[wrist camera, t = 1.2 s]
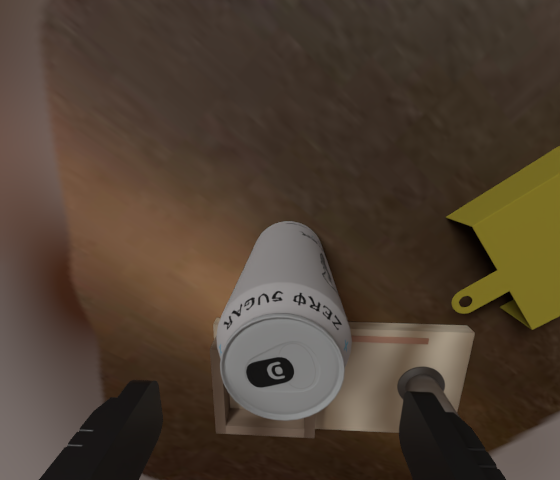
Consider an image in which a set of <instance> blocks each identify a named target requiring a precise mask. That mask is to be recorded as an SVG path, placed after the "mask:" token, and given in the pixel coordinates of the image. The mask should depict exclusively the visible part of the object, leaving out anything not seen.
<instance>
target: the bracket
mask: <svg viewBox="0 0 560 480" xmlns="http://www.w3.org/2000/svg"><path fill="white" fill-rule="evenodd" d="M446 218H448V219H451V220H454V221H457V222H459V223H462V224H465V225H468V226H471V227H472V228H473V230H474V231H475V233H476V235H477V236H478V238H479V240H480V242H481V243H482V245H483V247H484V248H485V250H486V252H487V254H488V255H489V257H490V259H491V260H492V262H493V264H494V266H495V267H496V269H497V271H495V272H493V273H491V274H490V275H488V276H486V277H484V278H482V279H481V280H479V281H477V282H475V283H474V284H472V285H470V286H468V287H466V288H465V289H463V290H461V291H459V292H458V293H457V294H455V296H454V297H453V299H452V307H453V309H454V310H455V311H457V312H458V313H463V314H465V313H470V312H472V311H474V310H476V309H477V308H479V307H481V306H483V305H485V304H487V303H488V302H490V301H492V300H494V299H496V298H498V297H499V296H501V295H503V294H505V293H507V292H509V291H510V293H511V295H512V296H513V298H514V300H512V301H510V302H508V303H506V304H504V305H502V306H500V308H501V309H503V310H504V311H506V312H507V313H509V314H510V315H511V316H513V317H514V318H516V319H517V320H519V321H520V322H522V323H523V324H524V325H526V326H527V327H529V328H530V329H532V330H533V329H535V328H537V327H539V326H541V325H543V324H545V323H547V322H549V321H551V320H553V319H555V318H557V317H559V316H560V146H559V147H557V148H555V149H554V150H552V151H551V152H549V153H547V154H546V155H544V156H543V157H541V158H539V159H538V160H536V161H535V162H533V163H531V164H530V165H528V166H527V167H525V168H523V169H522V170H520V171H519V172H517V173H515V174H514V175H512V176H511V177H509V178H508V179H506V180H504V181H503V182H501V183H500V184H498V185H496V186H495V187H493V188H492V189H490V190H488V191H487V192H485V193H484V194H482V195H480V196H479V197H477V198H476V199H474V200H472V201H471V202H469V203H468V204H466V205H464V206H463V207H461V208H460V209H458V210H456V211H455V212H453V213H452V214H450V215H448V216H447V217H446ZM464 296H470V297H471V298H472V303H471V305H470V306H468V307H461V306H460V305H459V300H460V299H461V298H462V297H464Z"/></svg>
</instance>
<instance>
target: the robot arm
mask: <svg viewBox="0 0 560 480" xmlns="http://www.w3.org/2000/svg"><path fill="white" fill-rule="evenodd" d="M162 422H163V415H162V408H161V400H160V393H159V386H158V383H157V381H148V380H132V381H130V382H129V383H128V384H127V386H126V387H125V388H124V390H123V391H122V392H121V394H120V395H119V396H118V398H112V397H111V398H110V399H108V400H107V401H106V402H105V403H103V404H102V405H101V406H100V407H98V408H97V409H96V410H95V411H94V412H93V413H92V414H91V415H90V416H89V418H88V419H87V420H86V421H85V423H84V424H83V425H82V426H81V428H80V430H79V432H77V433H76V434H75V435H74V436H73V438H72V439H71V440H70V442H69V443H68V446H67V447H65V448H64V449H63V450H62V452H61V453H60V454H59V455H58V457H57V458H56V459H55V460H54V462H53V463H52V464H51V465H50V467H49V468H48V469H47V470H46V472H45V473H44V474H43V475H42V477H41V478H40V479H39V480H139V478H140V476H141V474H142V472H143V470H144V468H145V466H146V464H147V461H148V459H149V457H150V455H151V453H152V451H153V449H154V447H155V445H156V443H157V441H158V438H159V436H160V433H161V429H162ZM399 439H400V444H401V448H402V452H403V454H404V457H405V460H406V462H407V465H408V467H409V470H410V473H411V475H412V478H413V480H506V479H505V477H504V476H503V474H502V473H501V471H500V470H499V469H497V467H496V464H495V462H494V461H493V460H492V458H491V456H490V455H489V453H488V452H486V451H485V447H484V446H483V445H482V443H481V442H480V440H479V439H478V437H477V436H476V434H475V433H474V431H473V430H472V428H471V427H469V426H468V425H467V424H466V423H465V422H464V421H463V420H462V419H461V418H460V417H458V416H457V415H456V414H455V413H454V412H445V410H444V409H443V407H442V405H441V404H440V402H439V401H438V399H437V397H436V396H435V395H434V394H433V393H432V392H417V391H406V392H405V394H404V399H403V406H402V412H401V418H400V424H399Z"/></svg>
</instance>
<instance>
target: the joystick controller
mask: <svg viewBox="0 0 560 480" xmlns="http://www.w3.org/2000/svg"><path fill="white" fill-rule="evenodd" d="M220 319H221V318H216V320H215V322H214V324H213V329H214V341H213V344H212V346H211V348H210V357H211V371H212V384H213V398H214V411H215V425H216V433H222V434H243V435H263V436H283V437H303V438H315V429H331V430H352V431H373V432H394V433H399V424H400V418H401V412H402V406H403V399H404V394H405V392H406V391H417V392H432V393H433V394H434V395H435V396H436V397H437V399H438V401H439V402H440V404H441V405H442V407H443V409H444V410H445V412H454V413H455V414H456V415H457V416H458V417H459V415H458V414H457V411H458V406H459V402H460V397H461V393H462V388H463V384H464V380H465V375H466V371H467V366H468V362H469V357H470V353H471V348H472V344H473V339H474V335H475V333H474V332H473V331H472V330H471V329H470V328H469V327H468V326H467V325H436V324H403V323H371V322H348V323H349V326H350V330H351V337H352V345H351V353H350V356H349V359H348V362H347V365H346V366H345V373H344V380H343V383H342V386H341V389H340V391H339V392H338V394H337V396H336V397H335V399H334V400H333V401H332V402H331V403H330V404H329V405H328V406H327V407H325V408H324V409H322V410H321V411H320V412H318V413H316V414H313V415H311V416H309V417H305V418H302V419H298V420H289V421H283V420H272V419H268V418H263V417H261V416H258V415H255V414H253V413H251V412H250V411H248V410H246V409H244V408H243V407H242V406H241V405H239V404H238V403H237V402H236V401H235V400H234V399H233V398H232V397H231V395H230V394H229V393H228V391H227V389H226V387H225V385H224V383H223V380H222V377H221V371H220V361H221V359H220V356H219V352H218V349H217V338H216V335H217V328H218V323H219V321H220Z"/></svg>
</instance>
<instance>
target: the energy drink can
mask: <svg viewBox="0 0 560 480" xmlns="http://www.w3.org/2000/svg"><path fill="white" fill-rule="evenodd" d="M216 338H217V349H218V352H219V356H220V359H221V361H220V371H221V377H222V380H223V383H224V385H225V387H226V389H227V391H228V393H229V394H230V395H231V397H232V398H233V399H234V400H235V401H236V402H237V403H238V404H239V405H241V406H242V407H243V408H244V409H246V410H248V411H250V412H251V413H253V414H255V415H258V416H261V417H263V418H268V419H272V420H283V421H289V420H298V419H302V418H305V417H309V416H311V415H313V414H316V413H318V412H320V411H321V410H322V409H324V408H325V407H327V406H328V405H329V404H330V403H331V402H332V401H333V400H334V399H335V397H336V396H337V394H338V392H339V391H340V389H341V386H342V383H343V380H344V373H345V366H346V365H347V362H348V359H349V356H350V353H351V345H352V337H351V330H350V326H349V323H348V321H347V318H346V315H345V312H344V309H343V306H342V303H341V300H340V297H339V294H338V291H337V288H336V286H335V283H334V280H333V277H332V274H331V271H330V268H329V265H328V262H327V259H326V256H325V253H324V251H323V248H322V245H321V242H320V240H319V238H318V237H317V235H316V234H315V233H314V232H313V231H312V230H311V229H310V228H308V227H307V226H305V225H303V224H301V223H297V222H293V221H284V222H279V223H276V224H274V225H271V226H270V227H268V228H267V229H266V230H265V231H263V232H262V233H261V235H260V236H259V238H258V240H257V242H256V244H255V246H254V248H253V250H252V252H251V254H250V256H249V259H248V261H247V263H246V265H245V267H244V269H243V271H242V273H241V276H240V278H239V280H238V282H237V284H236V286H235V288H234V290H233V292H232V295H231V297H230V299H229V301H228V303H227V305H226V307H225V309H224V312H223V314H222V316H221V319H220V321H219V323H218V328H217V335H216Z"/></svg>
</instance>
